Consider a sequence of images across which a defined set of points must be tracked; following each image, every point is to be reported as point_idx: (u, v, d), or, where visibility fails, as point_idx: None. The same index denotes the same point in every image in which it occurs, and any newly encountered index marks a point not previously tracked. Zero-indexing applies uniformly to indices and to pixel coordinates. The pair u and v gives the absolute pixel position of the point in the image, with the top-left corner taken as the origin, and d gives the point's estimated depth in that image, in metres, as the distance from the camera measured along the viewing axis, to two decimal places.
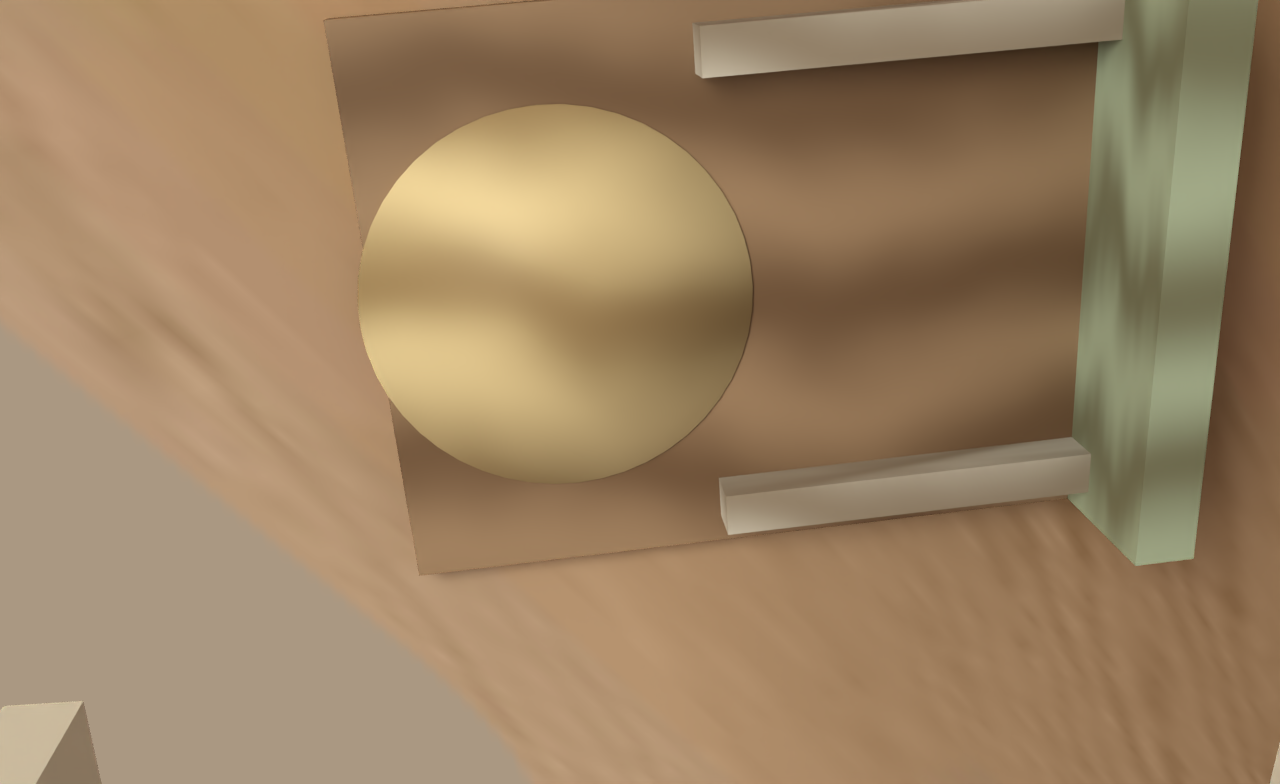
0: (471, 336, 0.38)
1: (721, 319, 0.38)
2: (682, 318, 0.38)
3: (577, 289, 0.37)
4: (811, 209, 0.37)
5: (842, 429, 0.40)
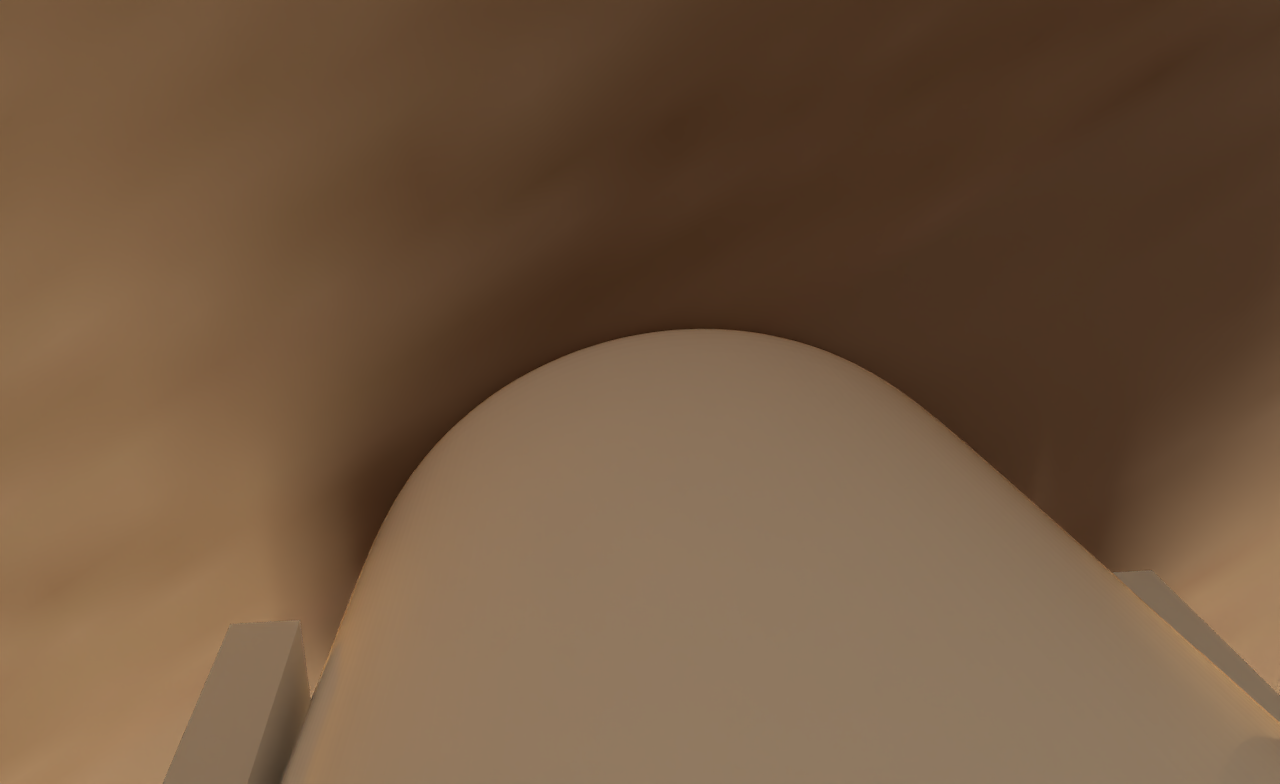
0: None
1: None
2: None
3: None
4: None
5: None
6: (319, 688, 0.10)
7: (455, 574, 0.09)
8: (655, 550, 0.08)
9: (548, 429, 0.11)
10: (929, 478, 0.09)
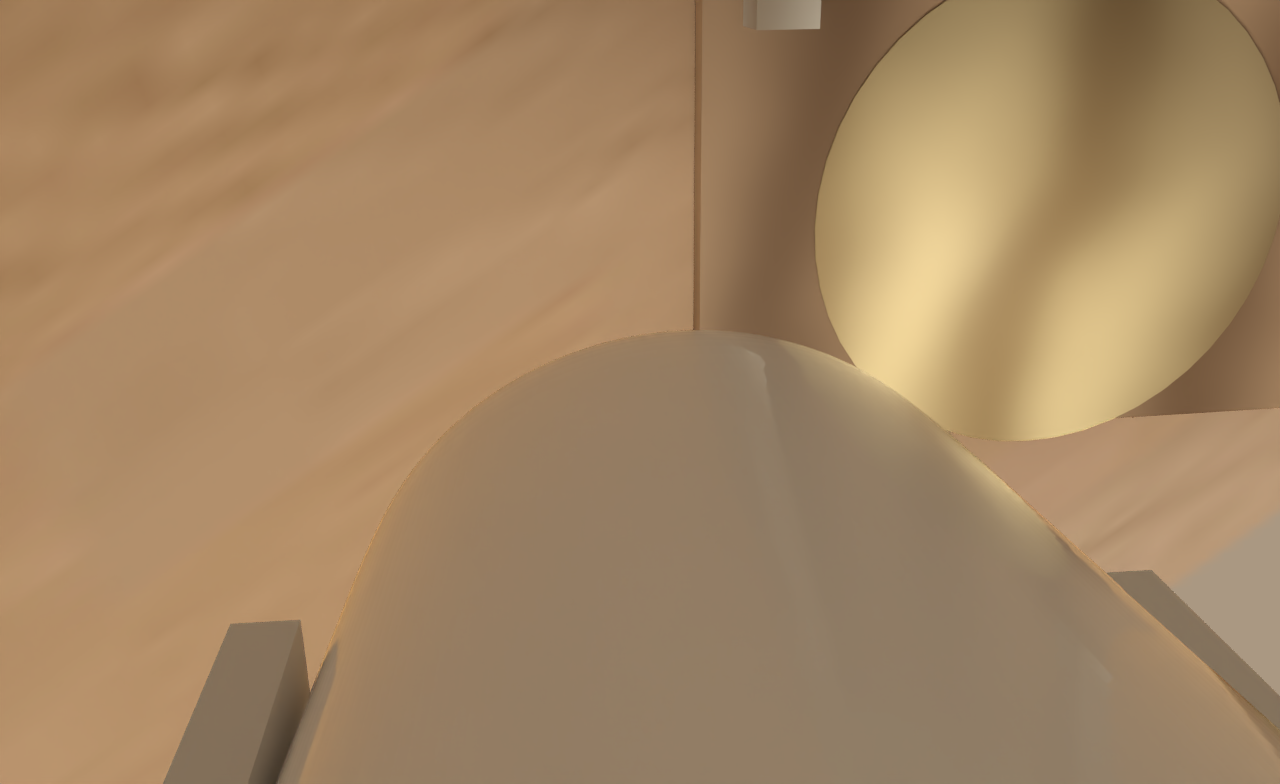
0: (1066, 321, 0.31)
1: (1121, 2, 0.28)
2: (1106, 56, 0.29)
3: (1039, 192, 0.30)
4: None
5: None
6: (314, 690, 0.10)
7: (450, 576, 0.09)
8: (650, 551, 0.08)
9: (544, 430, 0.11)
10: (924, 480, 0.09)
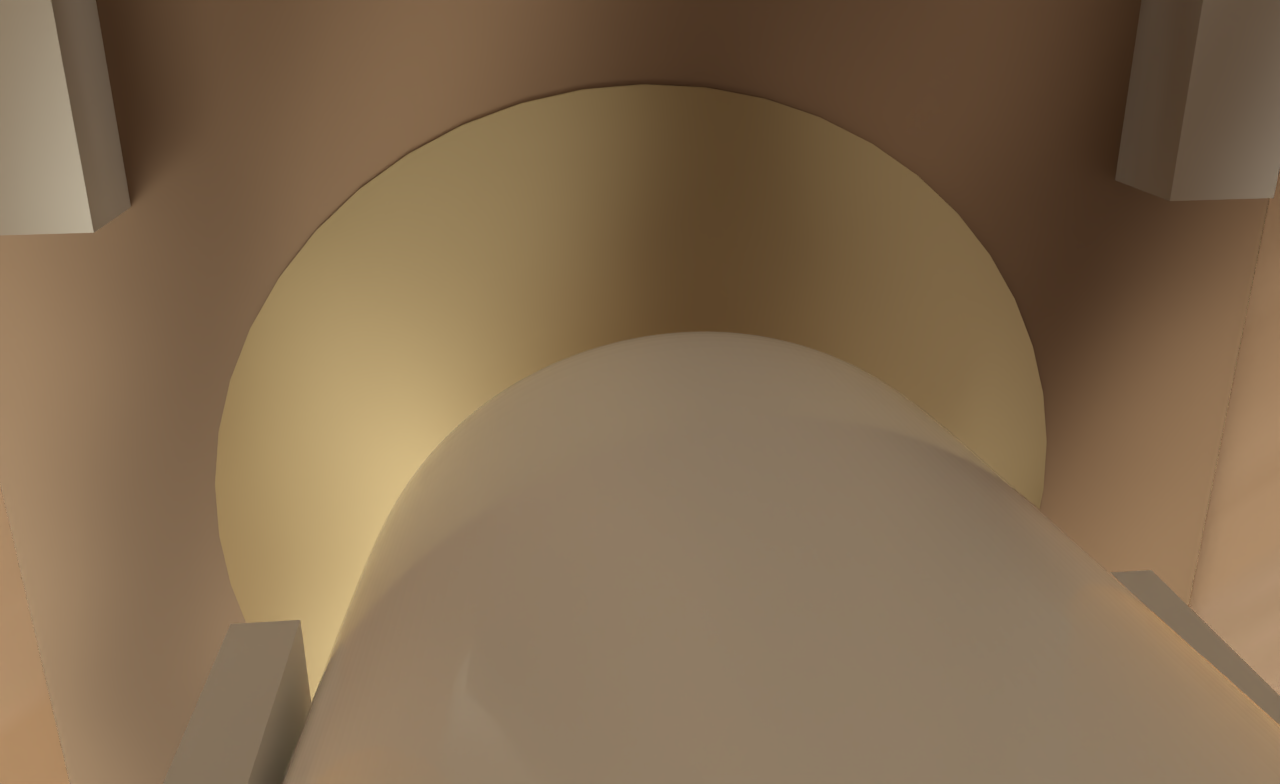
0: None
1: (720, 164, 0.16)
2: (707, 254, 0.17)
3: None
4: None
5: None
6: (319, 693, 0.10)
7: (455, 578, 0.09)
8: (657, 555, 0.08)
9: (548, 432, 0.11)
10: (931, 482, 0.09)
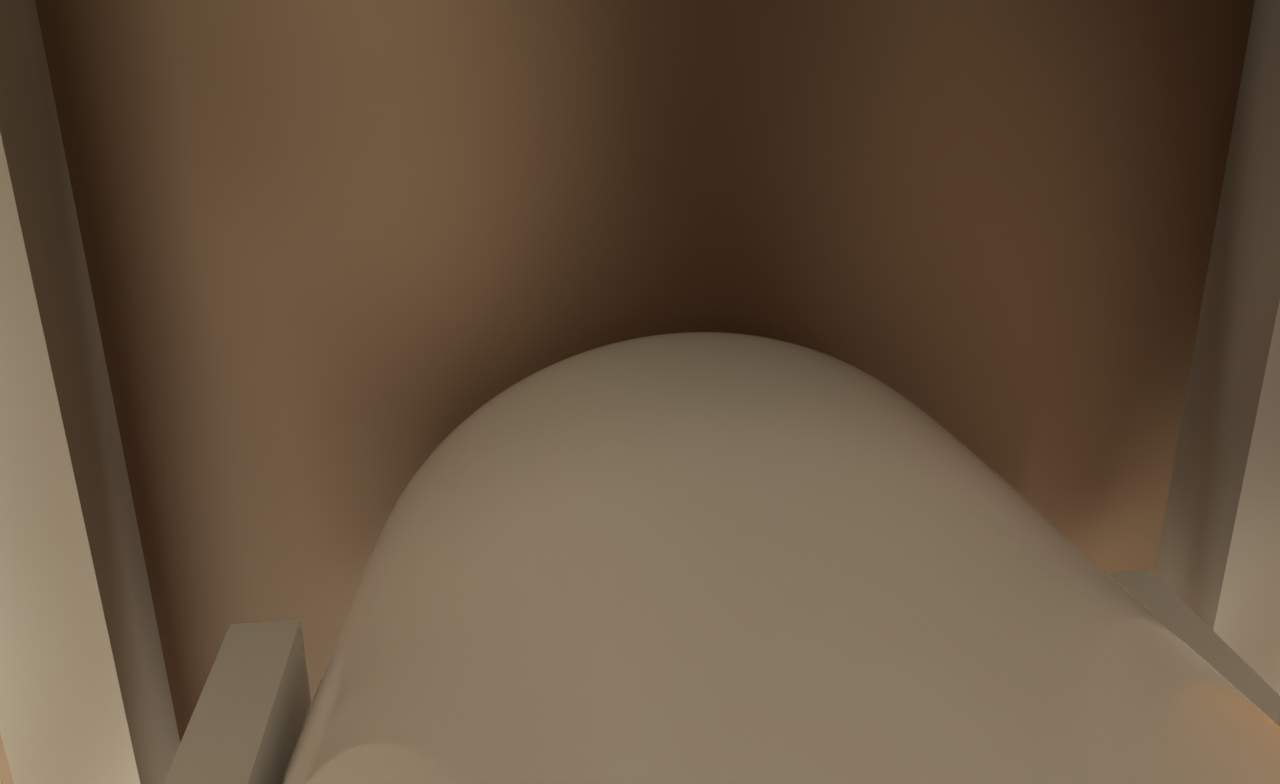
0: None
1: None
2: None
3: None
4: None
5: (1074, 524, 0.16)
6: (319, 692, 0.10)
7: (456, 579, 0.09)
8: (657, 555, 0.08)
9: (548, 433, 0.11)
10: (930, 483, 0.09)
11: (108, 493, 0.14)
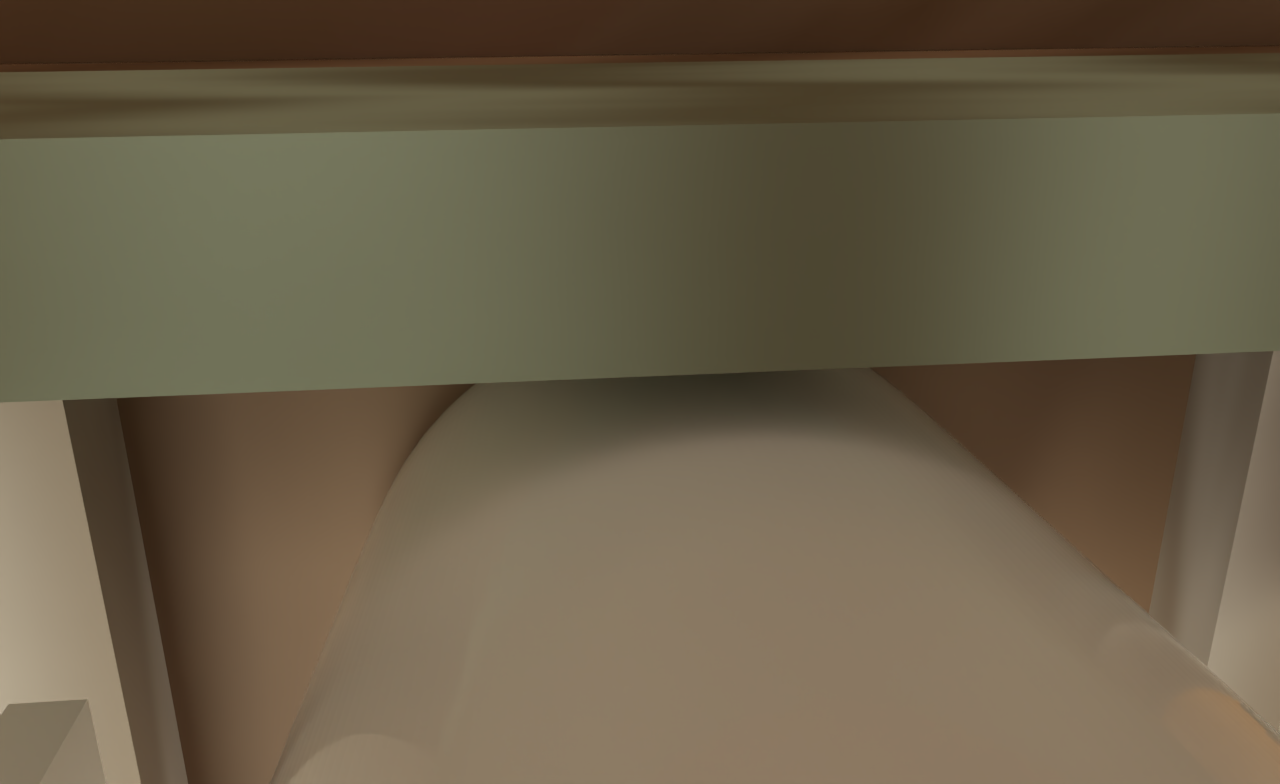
0: None
1: None
2: None
3: None
4: None
5: None
6: (328, 637, 0.11)
7: (452, 528, 0.10)
8: (632, 500, 0.09)
9: (539, 401, 0.12)
10: (885, 440, 0.10)
11: (163, 764, 0.15)
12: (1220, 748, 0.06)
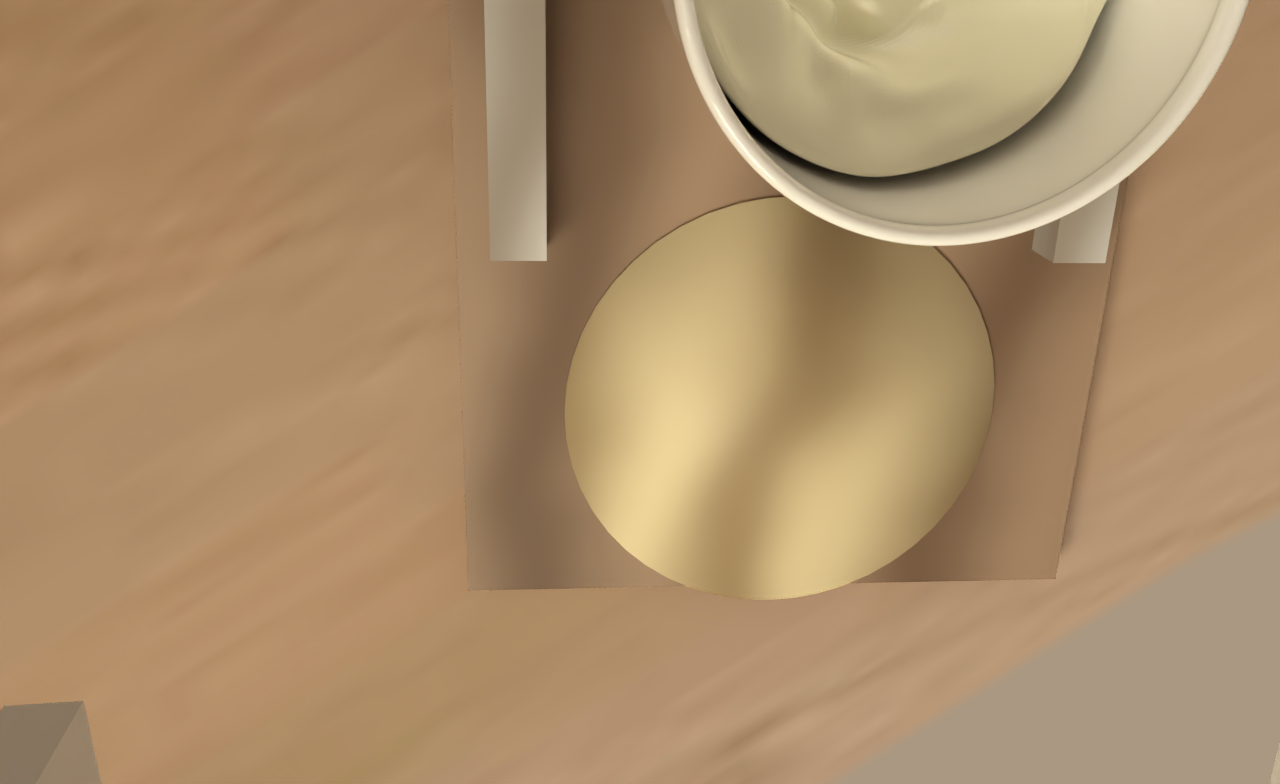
0: (799, 499, 0.35)
1: (832, 236, 0.32)
2: (822, 279, 0.33)
3: (767, 391, 0.34)
4: None
5: None
6: None
7: None
8: None
9: None
10: None
11: None
12: None
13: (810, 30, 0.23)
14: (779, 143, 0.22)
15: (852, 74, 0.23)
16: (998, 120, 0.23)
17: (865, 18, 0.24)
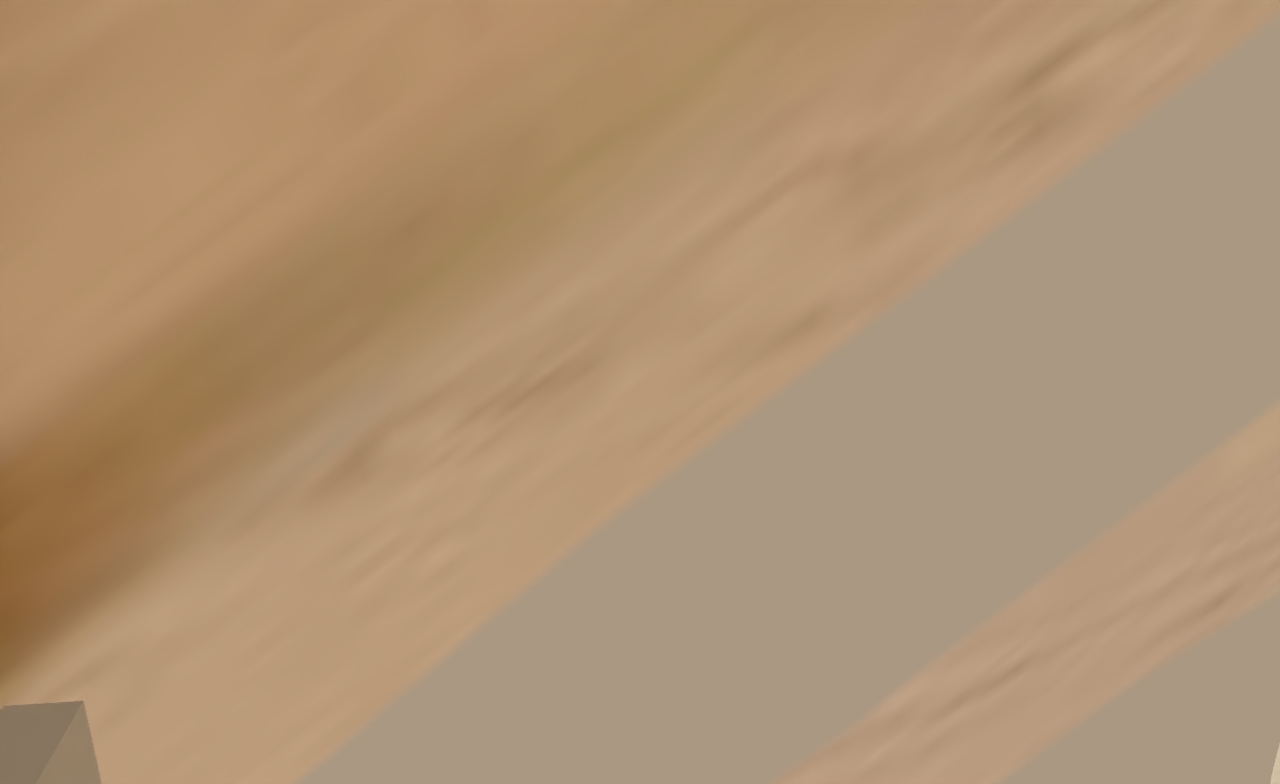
0: None
1: None
2: None
3: None
4: None
5: None
6: None
7: None
8: None
9: None
10: None
11: None
12: None
13: None
14: None
15: None
16: None
17: None
